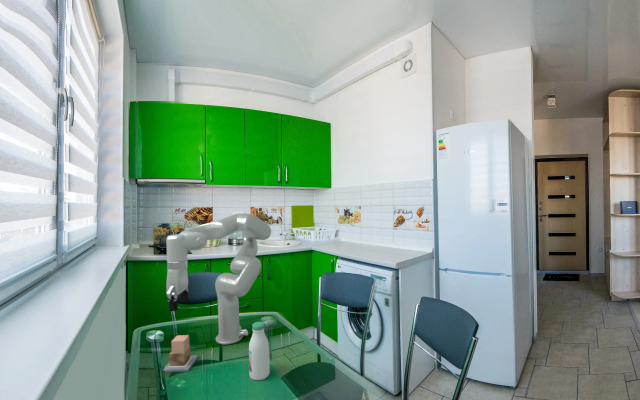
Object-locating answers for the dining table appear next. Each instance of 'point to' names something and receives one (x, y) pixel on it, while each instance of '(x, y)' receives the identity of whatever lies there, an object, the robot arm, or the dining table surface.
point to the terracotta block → (180, 344)
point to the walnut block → (179, 358)
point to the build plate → (181, 368)
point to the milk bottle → (259, 353)
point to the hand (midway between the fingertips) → (179, 306)
